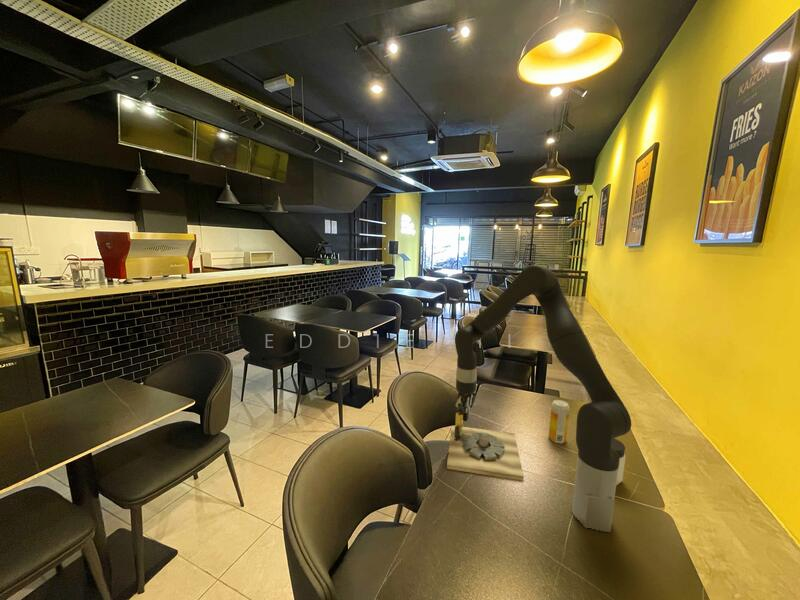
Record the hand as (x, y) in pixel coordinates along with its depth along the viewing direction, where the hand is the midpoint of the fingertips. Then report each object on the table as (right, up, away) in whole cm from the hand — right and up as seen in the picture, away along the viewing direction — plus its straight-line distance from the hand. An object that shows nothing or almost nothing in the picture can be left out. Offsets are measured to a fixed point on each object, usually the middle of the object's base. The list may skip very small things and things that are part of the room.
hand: (464, 419), depth 122 cm
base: (+5, -8, -8) cm, 13 cm away
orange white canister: (+35, -7, -1) cm, 36 cm away
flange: (+3, -6, -7) cm, 10 cm away
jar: (+41, -11, -20) cm, 47 cm away
